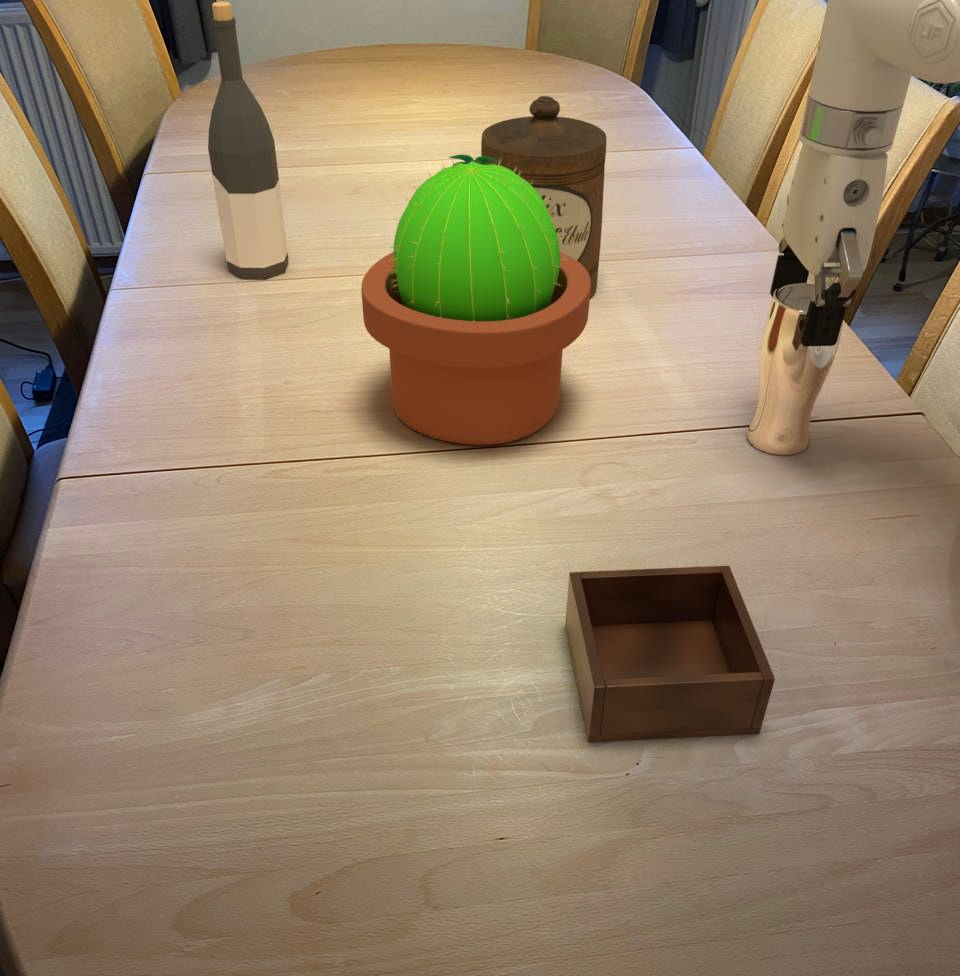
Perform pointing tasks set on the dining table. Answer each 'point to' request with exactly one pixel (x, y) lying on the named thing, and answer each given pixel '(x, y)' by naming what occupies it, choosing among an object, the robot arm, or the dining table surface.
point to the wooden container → (558, 173)
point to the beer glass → (788, 374)
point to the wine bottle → (244, 166)
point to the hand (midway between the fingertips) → (801, 319)
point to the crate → (665, 654)
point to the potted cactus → (476, 306)
